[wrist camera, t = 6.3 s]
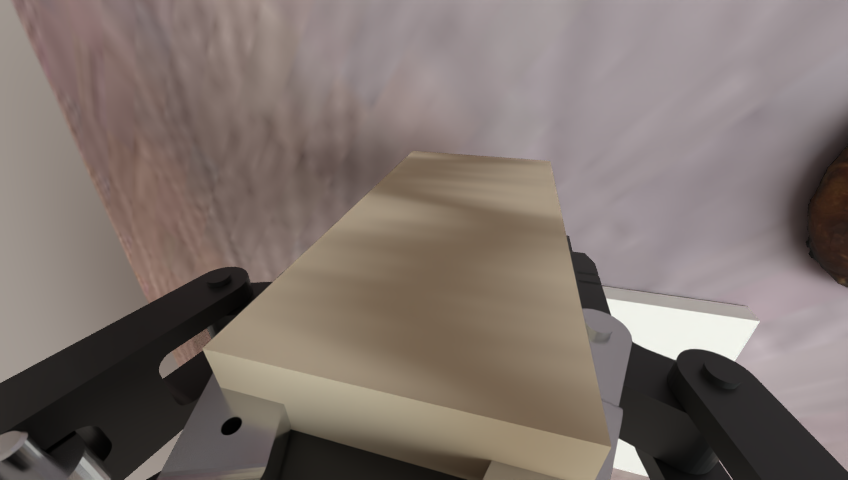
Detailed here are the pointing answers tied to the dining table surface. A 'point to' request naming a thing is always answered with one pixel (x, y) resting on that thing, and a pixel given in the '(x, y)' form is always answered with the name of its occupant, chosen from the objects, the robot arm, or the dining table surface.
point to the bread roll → (831, 221)
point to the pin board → (676, 335)
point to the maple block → (433, 326)
